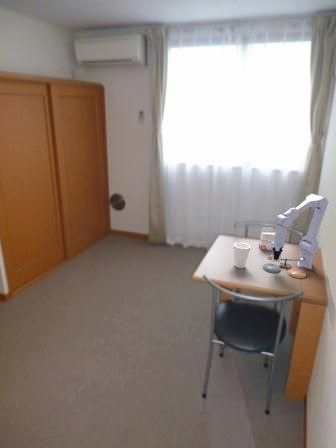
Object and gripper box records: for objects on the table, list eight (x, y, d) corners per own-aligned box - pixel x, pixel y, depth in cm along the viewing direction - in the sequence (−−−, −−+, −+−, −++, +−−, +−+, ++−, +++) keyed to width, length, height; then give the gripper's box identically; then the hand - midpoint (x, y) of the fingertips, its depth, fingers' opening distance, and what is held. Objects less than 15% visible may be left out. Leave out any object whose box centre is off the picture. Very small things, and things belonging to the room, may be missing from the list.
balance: (266, 260, 202) (268, 249, 200) (303, 268, 194) (306, 257, 192) (265, 264, 198) (267, 252, 195) (303, 272, 190) (306, 260, 188)
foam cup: (247, 270, 189) (250, 249, 185) (231, 268, 191) (234, 247, 186) (247, 263, 198) (249, 243, 193) (231, 261, 199) (234, 241, 195)
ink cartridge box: (260, 250, 218) (263, 229, 213) (258, 247, 223) (261, 227, 218) (273, 250, 219) (276, 229, 214) (270, 247, 223) (274, 227, 218)
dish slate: (263, 263, 198) (264, 262, 198) (280, 267, 195) (281, 265, 194) (261, 270, 189) (261, 268, 189) (279, 274, 186) (279, 272, 186)
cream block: (272, 258, 190) (273, 248, 188) (280, 259, 189) (281, 250, 187) (271, 261, 186) (272, 251, 184) (279, 262, 184) (281, 253, 183)
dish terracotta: (287, 268, 193) (288, 267, 193) (305, 272, 190) (306, 270, 189) (286, 275, 184) (287, 274, 184) (305, 279, 181) (305, 278, 181)
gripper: (273, 230, 190) (270, 251, 195) (271, 238, 177) (267, 261, 182) (286, 232, 188) (282, 254, 192) (284, 241, 175) (280, 264, 179)
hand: (276, 257), depth 187 cm, fingers closed on cream block, 5 cm apart
